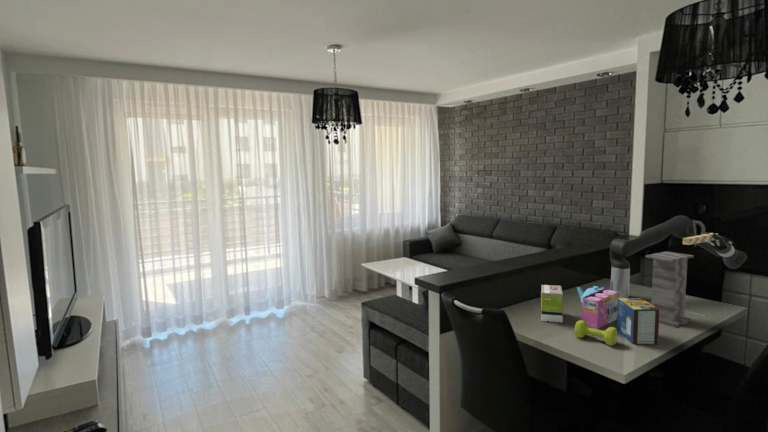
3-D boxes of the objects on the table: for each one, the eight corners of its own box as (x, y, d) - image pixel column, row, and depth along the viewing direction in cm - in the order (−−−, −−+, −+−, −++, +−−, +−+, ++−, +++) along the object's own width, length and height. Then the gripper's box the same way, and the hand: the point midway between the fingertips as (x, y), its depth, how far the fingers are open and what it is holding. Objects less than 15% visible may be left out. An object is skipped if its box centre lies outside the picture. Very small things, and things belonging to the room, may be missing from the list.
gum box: (604, 313, 217) (605, 287, 215) (621, 317, 211) (622, 291, 209) (581, 324, 202) (581, 297, 201) (597, 329, 196) (598, 301, 195)
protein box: (640, 331, 193) (641, 297, 192) (658, 345, 178) (660, 309, 176) (616, 330, 194) (617, 297, 193) (632, 344, 179) (633, 308, 177)
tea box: (540, 311, 222) (541, 283, 220) (561, 313, 219) (562, 285, 217) (540, 321, 208) (541, 292, 206) (563, 323, 205) (563, 293, 203)
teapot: (575, 301, 237) (575, 282, 236) (603, 301, 236) (603, 282, 235) (585, 310, 222) (586, 290, 221) (615, 310, 221) (616, 290, 219)
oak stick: (689, 245, 206) (689, 238, 206) (682, 244, 209) (682, 238, 209) (717, 239, 219) (718, 233, 219) (711, 238, 222) (711, 232, 221)
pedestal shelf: (670, 328, 195) (674, 260, 192) (640, 319, 207) (643, 255, 204) (692, 321, 203) (696, 255, 200) (661, 312, 216) (664, 250, 212)
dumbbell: (572, 338, 187) (572, 322, 186) (579, 333, 193) (579, 317, 192) (613, 348, 176) (613, 332, 175) (619, 342, 181) (619, 326, 180)
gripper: (710, 239, 232) (696, 226, 224) (741, 243, 220) (727, 229, 212) (705, 251, 231) (691, 239, 223) (736, 256, 219) (723, 242, 211)
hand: (709, 234), depth 217 cm, fingers closed on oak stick, 3 cm apart
